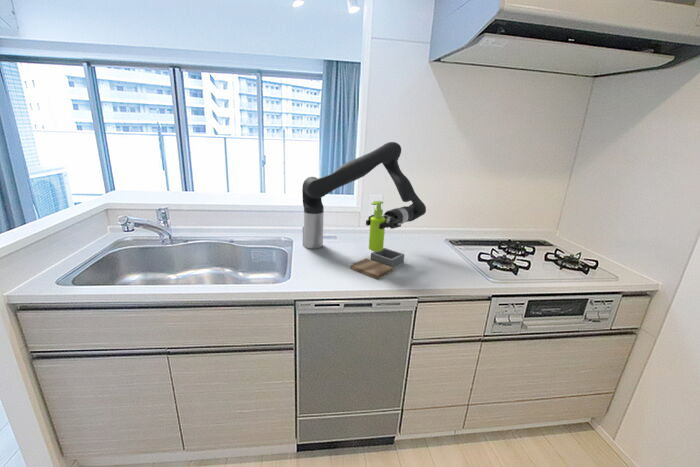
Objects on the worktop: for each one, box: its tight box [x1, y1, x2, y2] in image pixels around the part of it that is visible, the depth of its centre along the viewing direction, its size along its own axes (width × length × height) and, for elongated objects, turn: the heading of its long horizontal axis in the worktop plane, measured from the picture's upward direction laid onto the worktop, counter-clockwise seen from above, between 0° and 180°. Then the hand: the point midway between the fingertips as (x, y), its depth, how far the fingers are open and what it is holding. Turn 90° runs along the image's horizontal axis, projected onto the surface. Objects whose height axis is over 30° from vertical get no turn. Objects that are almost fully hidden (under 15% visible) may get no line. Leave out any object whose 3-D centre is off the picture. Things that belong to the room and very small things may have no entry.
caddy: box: [369, 247, 405, 269], centre depth 140 cm, size 11×10×4 cm
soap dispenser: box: [368, 200, 385, 252], centre depth 128 cm, size 6×7×20 cm
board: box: [349, 257, 394, 280], centre depth 132 cm, size 14×11×2 cm
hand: (373, 224), depth 125 cm, fingers closed on soap dispenser, 6 cm apart
